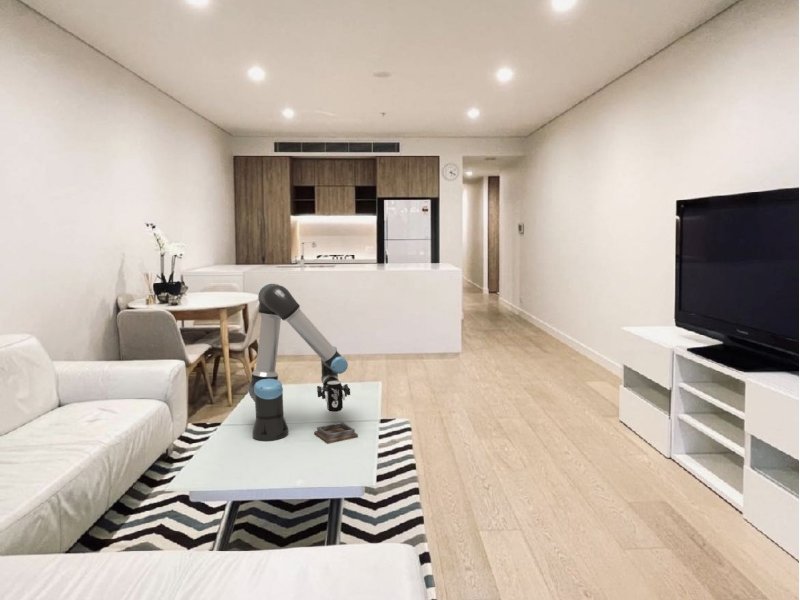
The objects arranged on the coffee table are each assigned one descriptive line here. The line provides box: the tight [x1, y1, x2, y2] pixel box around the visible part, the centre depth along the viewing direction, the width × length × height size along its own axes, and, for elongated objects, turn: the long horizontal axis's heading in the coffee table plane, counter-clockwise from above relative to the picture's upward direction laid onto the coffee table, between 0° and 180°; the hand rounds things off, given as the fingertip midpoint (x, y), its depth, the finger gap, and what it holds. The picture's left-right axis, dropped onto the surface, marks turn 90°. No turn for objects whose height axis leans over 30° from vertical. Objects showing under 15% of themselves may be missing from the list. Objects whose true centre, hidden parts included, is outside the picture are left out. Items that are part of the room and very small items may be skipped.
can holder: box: [313, 422, 359, 445], centre depth 243 cm, size 14×14×3 cm
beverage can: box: [326, 380, 344, 413], centre depth 241 cm, size 7×7×12 cm
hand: (335, 397), depth 236 cm, fingers closed on beverage can, 6 cm apart
